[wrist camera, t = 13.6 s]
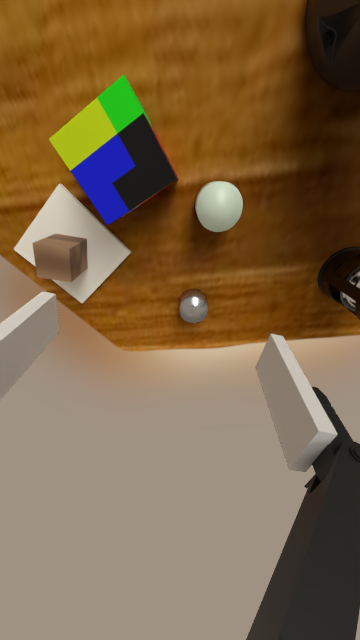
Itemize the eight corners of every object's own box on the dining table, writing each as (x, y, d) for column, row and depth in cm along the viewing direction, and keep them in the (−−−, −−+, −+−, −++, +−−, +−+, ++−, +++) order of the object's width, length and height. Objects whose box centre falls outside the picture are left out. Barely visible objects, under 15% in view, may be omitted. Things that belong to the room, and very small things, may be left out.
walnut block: (55, 233, 40) (32, 242, 33) (86, 238, 40) (69, 249, 34) (58, 263, 42) (37, 277, 36) (87, 267, 42) (71, 282, 36)
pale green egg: (198, 177, 36) (201, 177, 30) (238, 185, 36) (248, 186, 30) (191, 220, 39) (192, 227, 33) (227, 227, 39) (235, 235, 33)
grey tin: (182, 286, 45) (182, 295, 41) (208, 291, 45) (210, 300, 42) (177, 310, 47) (177, 320, 44) (203, 314, 48) (204, 324, 44)
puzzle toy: (124, 215, 39) (107, 225, 30) (82, 149, 35) (48, 139, 26) (178, 179, 36) (176, 178, 28) (140, 103, 32) (123, 74, 23)
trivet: (16, 248, 42) (13, 249, 41) (61, 183, 37) (58, 183, 36) (83, 302, 47) (82, 303, 46) (131, 251, 42) (130, 252, 41)
